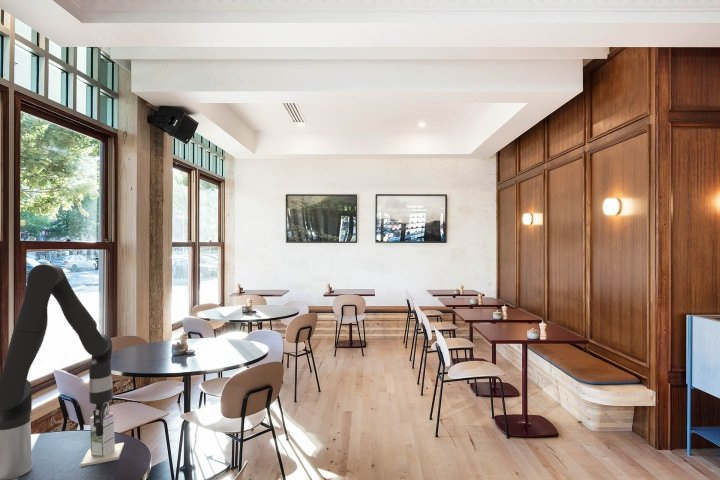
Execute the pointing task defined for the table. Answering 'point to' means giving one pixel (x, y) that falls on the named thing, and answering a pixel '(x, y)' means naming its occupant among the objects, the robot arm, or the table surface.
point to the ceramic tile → (100, 459)
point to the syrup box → (103, 436)
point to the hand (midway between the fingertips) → (102, 430)
